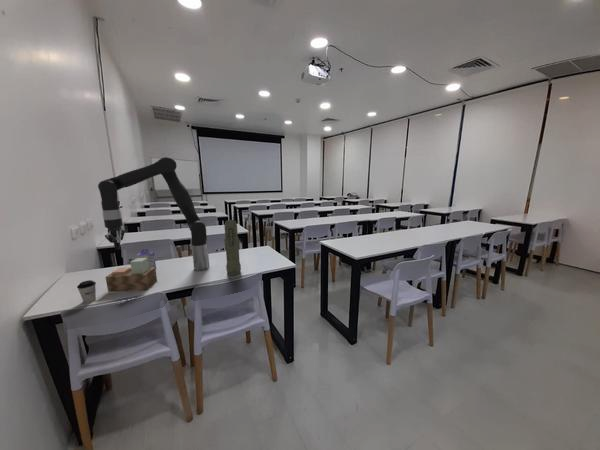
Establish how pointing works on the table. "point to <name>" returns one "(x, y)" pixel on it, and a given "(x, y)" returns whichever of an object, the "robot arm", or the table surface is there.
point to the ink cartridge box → (148, 255)
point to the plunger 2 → (139, 265)
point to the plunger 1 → (121, 271)
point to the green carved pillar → (232, 248)
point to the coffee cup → (87, 291)
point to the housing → (131, 281)
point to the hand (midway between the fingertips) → (118, 249)
